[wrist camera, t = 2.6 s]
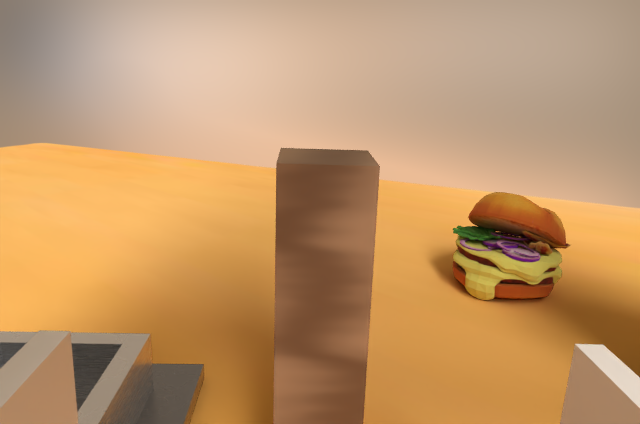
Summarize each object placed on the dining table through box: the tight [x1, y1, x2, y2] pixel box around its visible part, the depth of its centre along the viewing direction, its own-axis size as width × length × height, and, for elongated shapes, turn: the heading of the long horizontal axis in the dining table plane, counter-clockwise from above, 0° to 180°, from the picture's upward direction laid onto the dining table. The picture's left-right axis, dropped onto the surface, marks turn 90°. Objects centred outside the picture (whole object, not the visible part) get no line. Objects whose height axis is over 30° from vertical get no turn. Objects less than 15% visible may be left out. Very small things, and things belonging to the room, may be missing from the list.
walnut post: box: [273, 148, 380, 424], centre depth 24 cm, size 4×4×16 cm
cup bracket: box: [0, 332, 204, 424], centre depth 26 cm, size 14×14×4 cm
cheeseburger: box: [453, 192, 570, 300], centre depth 50 cm, size 10×11×10 cm
